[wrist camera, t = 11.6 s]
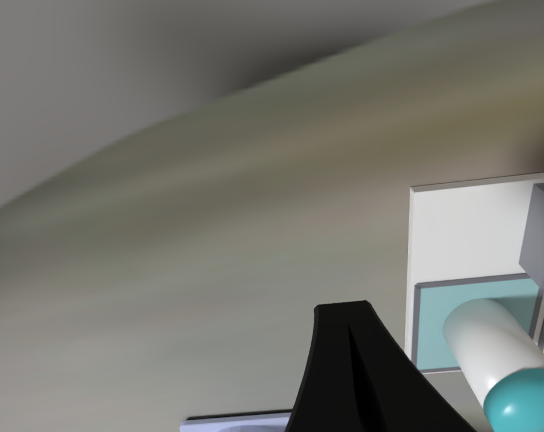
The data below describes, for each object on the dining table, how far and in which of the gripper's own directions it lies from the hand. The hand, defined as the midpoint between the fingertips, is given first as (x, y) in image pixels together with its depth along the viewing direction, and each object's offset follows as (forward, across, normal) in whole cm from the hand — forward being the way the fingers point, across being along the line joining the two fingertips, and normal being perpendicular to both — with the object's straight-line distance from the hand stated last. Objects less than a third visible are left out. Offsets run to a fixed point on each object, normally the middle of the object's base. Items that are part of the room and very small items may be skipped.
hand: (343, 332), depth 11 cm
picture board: (+10, -11, +7) cm, 16 cm away
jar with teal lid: (+9, -8, +9) cm, 15 cm away
